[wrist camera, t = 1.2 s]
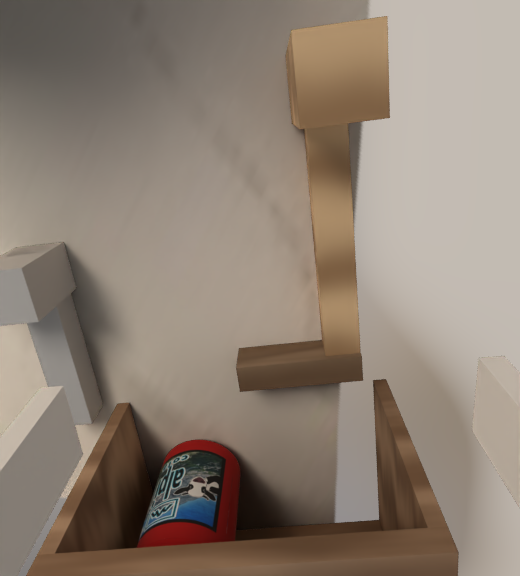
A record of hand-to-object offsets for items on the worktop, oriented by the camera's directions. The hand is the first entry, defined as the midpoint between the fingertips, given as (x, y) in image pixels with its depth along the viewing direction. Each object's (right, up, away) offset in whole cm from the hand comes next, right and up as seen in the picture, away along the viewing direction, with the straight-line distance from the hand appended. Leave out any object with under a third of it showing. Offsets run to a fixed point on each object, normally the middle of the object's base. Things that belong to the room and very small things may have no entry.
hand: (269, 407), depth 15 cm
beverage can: (-5, -12, +26) cm, 29 cm away
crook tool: (+2, +8, +18) cm, 20 cm away
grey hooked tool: (-15, 0, +21) cm, 26 cm away
